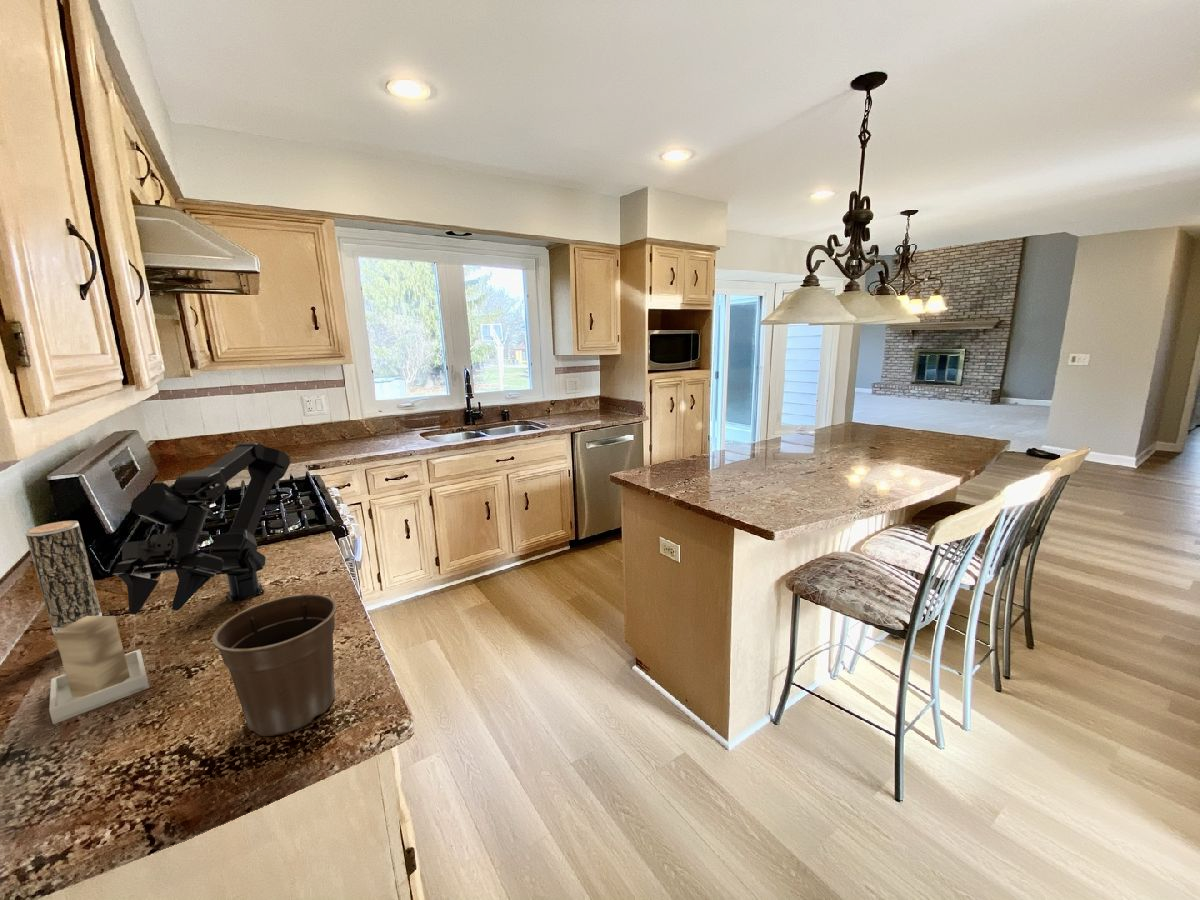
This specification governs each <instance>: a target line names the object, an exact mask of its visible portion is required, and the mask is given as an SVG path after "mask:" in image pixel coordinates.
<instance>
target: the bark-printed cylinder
mask: <svg viewBox="0 0 1200 900" xmlns="http://www.w3.org/2000/svg"><path fill="white" fill-rule="evenodd" d="M25 536H26V541H27V543H28V547H29V550H30V554H31V557H32V562H33V566H34V569H35V573H36V576H37V581H38V584H39V588H40V591H41V594H42V597H43V602H44V606H45V609H46V612H47V616H48V619H49V625H50V627H51V630H52V634H53V638H54V640H55V645H56V648H57V650H58V652H60V651H59V648H58V644H57V641H56V637H55V633H54V632H56V631H58V630H60V629H62V628H64V627H66V626H68V625H70V624H72V623H74V622H76V621H78V620H80V619H82V618H84V617H86V616H103V613H102V610H101V606H100V603H99V602H100V601H99V598H98V594H97V589H96V587H95V586H96V585H95V582H94V578H93V574H92V570H91V566H90V561H89V557H88V554H87V550H86V546H85V542H84V539H83V534H82V530H81V525H80V523H79V521H78V520H62V521H56V522H50V523H45V524H42V525H37V526H34V527H31V528H29V529H26V530H25Z"/></svg>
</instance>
